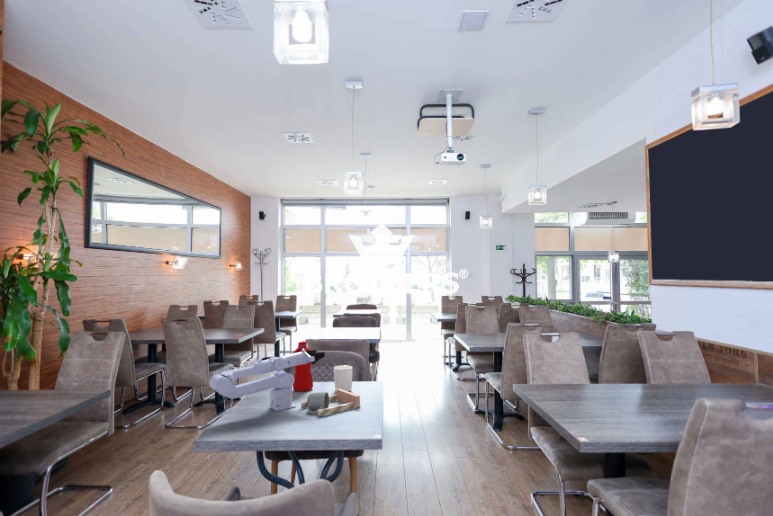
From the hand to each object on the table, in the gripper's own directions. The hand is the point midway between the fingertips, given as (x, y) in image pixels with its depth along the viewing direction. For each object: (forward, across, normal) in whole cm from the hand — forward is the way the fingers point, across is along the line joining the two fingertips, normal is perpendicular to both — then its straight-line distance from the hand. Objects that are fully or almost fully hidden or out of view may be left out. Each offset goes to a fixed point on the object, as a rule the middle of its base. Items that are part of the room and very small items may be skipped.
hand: (320, 353), depth 205 cm
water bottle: (-1, +22, +22) cm, 31 cm away
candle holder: (+14, +5, +23) cm, 28 cm away
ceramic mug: (-12, -15, +21) cm, 29 cm away
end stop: (+4, -15, +22) cm, 27 cm away
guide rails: (-6, -15, +21) cm, 27 cm away
